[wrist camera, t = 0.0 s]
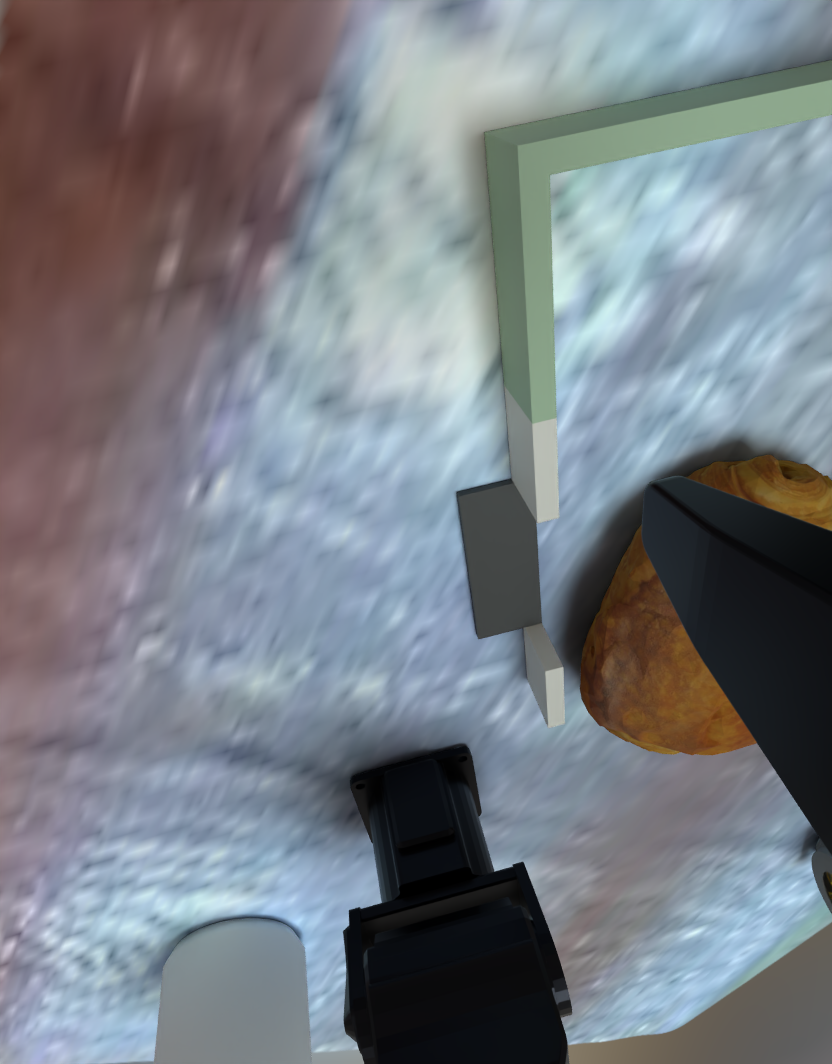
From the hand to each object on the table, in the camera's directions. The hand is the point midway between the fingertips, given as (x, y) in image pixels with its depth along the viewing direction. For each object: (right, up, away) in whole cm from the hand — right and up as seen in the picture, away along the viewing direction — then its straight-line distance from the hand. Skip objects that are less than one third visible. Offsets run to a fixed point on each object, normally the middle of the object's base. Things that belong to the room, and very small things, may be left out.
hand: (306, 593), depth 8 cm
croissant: (+15, -2, +24) cm, 29 cm away
